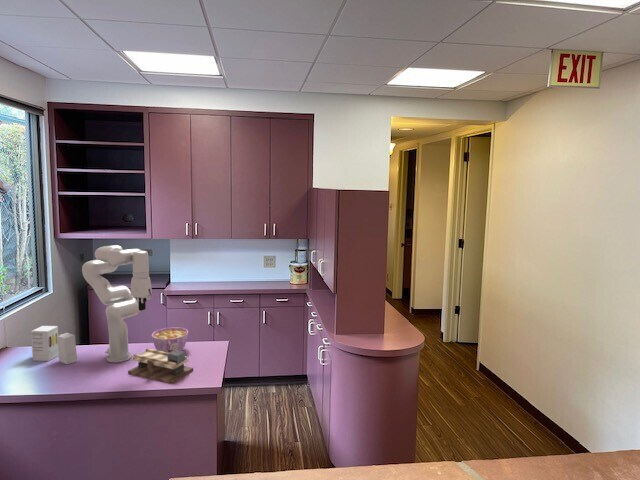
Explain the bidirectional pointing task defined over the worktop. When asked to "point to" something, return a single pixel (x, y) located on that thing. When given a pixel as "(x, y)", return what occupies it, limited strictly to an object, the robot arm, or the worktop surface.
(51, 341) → the supplement box
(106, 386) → the worktop surface
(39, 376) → the worktop surface
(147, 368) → the stand
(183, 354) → the block
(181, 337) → the bowl of food
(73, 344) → the skincare box
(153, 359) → the cream curved piece
